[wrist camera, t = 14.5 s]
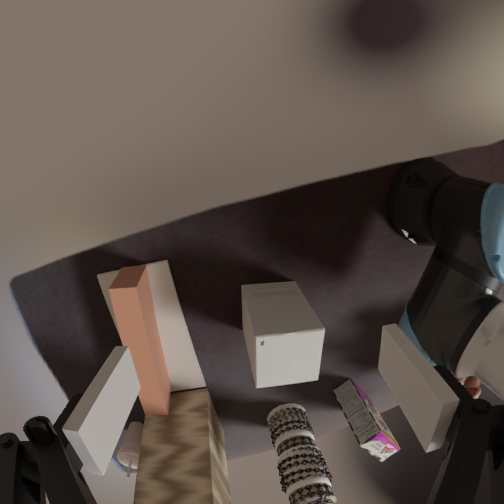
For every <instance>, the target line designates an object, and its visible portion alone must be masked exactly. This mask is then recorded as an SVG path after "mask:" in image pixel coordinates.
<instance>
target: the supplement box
mask: <svg viewBox="0 0 504 504" xmlns="http://www.w3.org/2000/svg"><path fill="white" fill-rule="evenodd" d="M241 294H242V325H243V332H244V337H245V341H246V346H247V350H248V355H249V359H250V364H251V368H252V373H253V377H254V382H255V386H256V388H263V387H272V386H280V385H287V384H295V383H302V382H309V381H316V380H318V377H319V370H320V362H321V354H322V347H323V340H324V332H325V328H324V327H323V325H322V324H321V322H320V321H319V319H318V318H317V316H316V314H315V313H314V311H313V310H312V308H311V306H310V305H309V303H308V302H307V300H306V299H305V297H304V295H303V294H302V292H301V291H300V289H299V287H298V286H297V284H296V283H295V281H289V282H276V283H262V284H248V285H242V286H241Z"/></svg>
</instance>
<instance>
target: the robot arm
mask: <svg viewBox="0 0 504 504" xmlns="http://www.w3.org/2000/svg"><path fill="white" fill-rule="evenodd" d="M388 208H389V215H390V219H391V222H392V224H393V226H394V228H395V230H396V231H397V232H398V234H399V235H400V236H402V237H403V238H404V239H406V240H408V241H410V242H412V243H414V244H417V245H421V246H436V247H435V249H434V252H433V254H432V256H431V258H430V260H429V262H428V264H427V266H426V268H425V270H424V273H423V275H422V277H421V279H420V281H419V283H418V285H417V287H416V289H415V291H414V293H413V295H412V297H411V298H410V300H409V301H408V302H407V304H406V306H405V311H404V313H403V315H402V317H401V319H400V321H399V323H398V326H397V325H396V324H390V325H384V326H382V337H381V346H380V355H379V363H378V370H379V372H380V374H381V375H382V377H383V379H384V380H385V382H386V384H387V385H388V387H389V389H390V390H391V392H392V394H393V396H394V397H395V399H396V401H397V402H398V404H399V406H400V407H401V409H402V411H403V413H404V414H405V416H406V418H407V420H408V421H409V423H410V425H411V426H412V428H413V430H414V432H415V434H416V436H417V437H418V439H419V441H420V443H421V444H422V446H423V448H424V450H425V452H426V453H427V452H429V451H432V450H435V449H438V448H441V447H442V445H443V443H444V440H445V438H446V439H447V441H448V443H449V446H448V448H447V451H446V453H445V455H444V457H443V459H442V460H443V463H442V465H441V468H440V471H439V474H438V476H437V479H436V481H435V484H434V486H433V489H432V491H431V493H430V496H429V498H428V500H427V503H426V504H473V502H474V499H475V495H476V492H477V488H478V485H479V481H480V476H481V472H482V469H483V464H484V460H485V455H486V451H488V461H489V476H490V504H504V405H496V406H491V404H490V403H489V402H488V401H486V400H483V399H477V398H475V399H474V398H473V397H472V395H471V394H470V393H469V392H468V391H467V390H466V389H465V387H464V386H463V385H462V384H461V383H460V382H459V380H458V379H457V378H456V377H454V375H456V376H457V377H458V378H463V377H468V376H475V377H476V378H477V379H479V380H480V381H481V382H482V383H483V384H485V385H486V386H487V387H489V389H491V390H492V391H493V392H494V393H496V394H497V395H498V396H499V397H500V398H501V399H503V400H504V302H503V301H502V300H500V299H498V298H497V295H498V293H499V291H500V289H501V286H502V284H503V283H504V185H502V184H499V183H490V182H486V181H482V180H477V179H473V178H469V177H464V176H460V175H458V174H457V173H455V172H454V171H453V170H451V169H450V168H449V167H448V166H446V165H445V164H443V163H442V162H439V161H437V160H432V159H426V158H421V159H416V160H413V161H411V162H409V163H408V164H406V165H405V166H404V167H403V168H402V169H401V170H400V171H399V172H398V174H397V175H396V177H395V179H394V181H393V183H392V186H391V189H390V193H389V201H388ZM453 374H454V375H453ZM140 389H141V386H140V383H139V380H138V377H137V373H136V370H135V367H134V364H133V360H132V357H131V353H130V350H129V346H115V348H114V349H113V351H112V352H111V354H110V355H109V357H108V358H107V360H106V361H105V363H104V364H103V366H102V367H101V369H100V370H99V372H98V373H97V375H96V376H95V378H94V379H93V381H92V382H91V384H90V385H89V387H88V388H87V390H86V391H85V393H84V394H80V393H78V394H77V395H75V396H74V397H73V398H72V399H70V401H69V402H68V404H67V405H66V408H64V410H63V411H62V413H61V415H60V416H59V417H58V419H57V420H56V422H55V424H54V425H52V424H51V422H50V420H49V419H48V418H47V417H45V416H37V417H33V418H31V419H29V420H28V421H27V422H26V423H25V425H24V427H23V431H24V432H25V434H26V436H27V437H28V439H29V441H20V440H19V439H18V437H17V436H16V435H15V434H14V433H4V434H2V435H0V504H46V496H45V491H46V494H47V497H48V500H49V503H50V504H97V503H96V501H95V499H94V497H93V495H92V493H91V491H90V489H89V487H88V485H87V483H86V481H85V479H84V477H83V475H82V473H81V472H80V470H81V468H82V466H84V467H85V469H86V470H87V472H88V473H91V474H96V475H102V476H104V474H105V471H106V469H107V466H108V464H109V461H110V459H111V457H112V454H113V452H114V449H115V447H116V445H117V442H118V440H119V437H120V435H121V433H122V430H123V428H124V426H125V423H126V421H127V419H128V416H129V414H130V412H131V409H132V407H133V405H134V402H135V400H136V398H137V396H138V393H139V391H140Z"/></svg>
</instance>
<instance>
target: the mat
mask: <svg viewBox="0 0 504 504" xmlns="http://www.w3.org/2000/svg"><path fill="white" fill-rule="evenodd" d="M144 265H147V271H148V277H149V283H150V288H151V294H152V300H153V305H154V310H155V315H156V320H157V325H158V330H159V335H160V340H161V344H162V349H163V353H164V358H165V362H166V366H167V370H168V375H169V379H170V383H171V390H170V392H172V391H179V390H186V389H192V388H199V387H205V386H206V383H205V380H204V377H203V374H202V372H201V369H200V366H199V363H198V360H197V357H196V354H195V351H194V348H193V344H192V341H191V338H190V335H189V332H188V329H187V325H186V322H185V319H184V316H183V312H182V309H181V306H180V302H179V299H178V296H177V292H176V289H175V285H174V282H173V278H172V274H171V271H170V267H169V263H168V260H163V261H158V262H154V263H149V264H144ZM139 266H143V265H139ZM120 270H121V269H120ZM120 270H115V271H111V272H106V273H101V274H98V275H97V278H98V281H99V284H100V286H101V289H102V292H103V295H104V297H105V300H106V303H107V306H108V308H109V311H110V313H111V316H112V319H113V321H114V324H115V326H116V329H117V331H118V333H119V330H118V326H117V322H116V318H115V314H114V310H113V306H112V302H111V298H110V293H109V287H110V286H111V284H112V283H113V281H114V279H115V278H116V276H117V275H118V273H119V271H120ZM119 336H120V334H119ZM120 338H121V337H120Z"/></svg>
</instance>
